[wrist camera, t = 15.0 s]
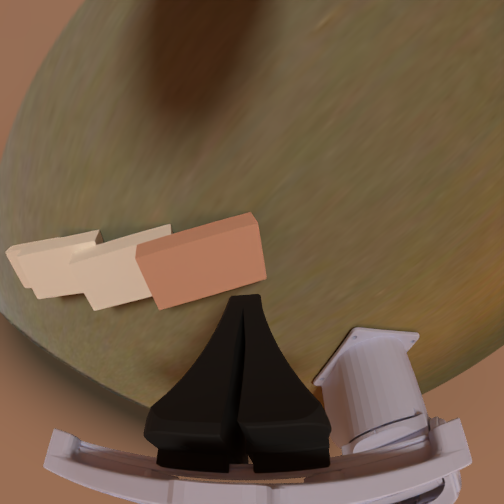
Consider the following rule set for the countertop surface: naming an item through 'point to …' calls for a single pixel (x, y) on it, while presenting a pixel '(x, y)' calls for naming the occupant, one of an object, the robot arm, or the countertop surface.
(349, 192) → the countertop surface
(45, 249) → the ivory domino
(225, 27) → the countertop surface
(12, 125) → the countertop surface
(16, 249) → the ivory domino
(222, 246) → the rust domino
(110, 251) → the ivory domino
